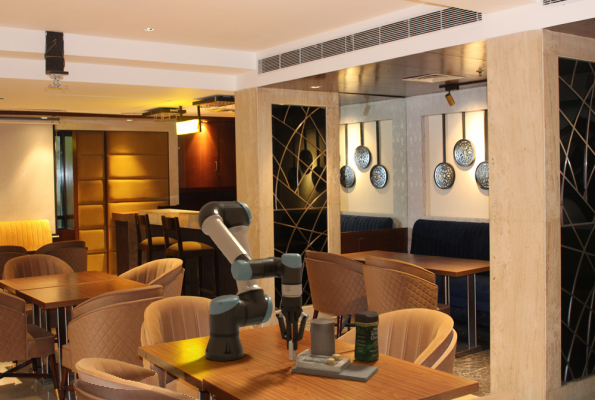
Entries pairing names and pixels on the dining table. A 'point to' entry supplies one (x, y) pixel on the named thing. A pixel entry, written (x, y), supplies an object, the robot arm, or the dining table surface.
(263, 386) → the dining table surface
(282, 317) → the robot arm
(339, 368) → the keyhole panel
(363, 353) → the coffee jar
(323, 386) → the dining table surface
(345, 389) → the dining table surface
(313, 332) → the pillar candle
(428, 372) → the dining table surface
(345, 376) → the board
